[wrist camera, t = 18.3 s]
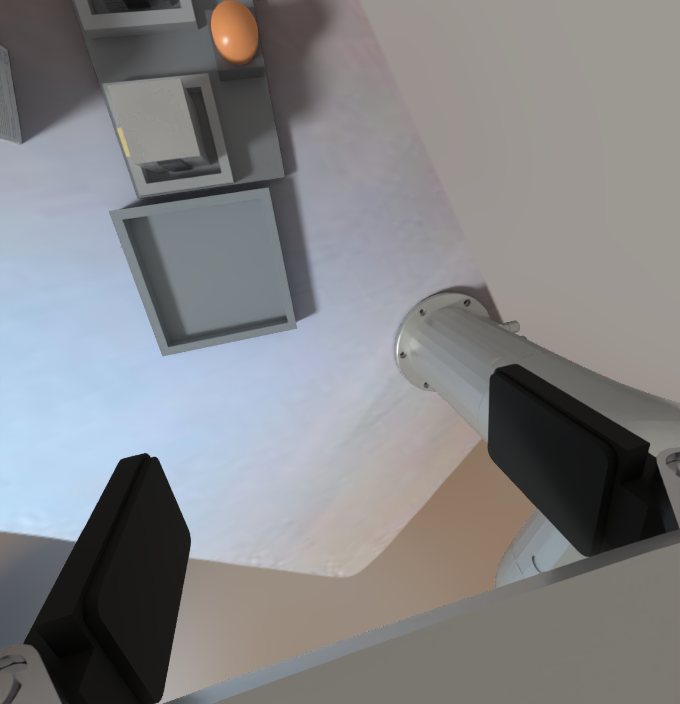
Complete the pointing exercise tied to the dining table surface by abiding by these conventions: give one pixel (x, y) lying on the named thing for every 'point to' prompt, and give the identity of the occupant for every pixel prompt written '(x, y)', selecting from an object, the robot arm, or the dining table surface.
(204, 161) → the block
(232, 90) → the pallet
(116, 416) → the dining table surface
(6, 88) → the light bulb box
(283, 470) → the dining table surface
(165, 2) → the block
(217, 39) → the button
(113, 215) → the tray
